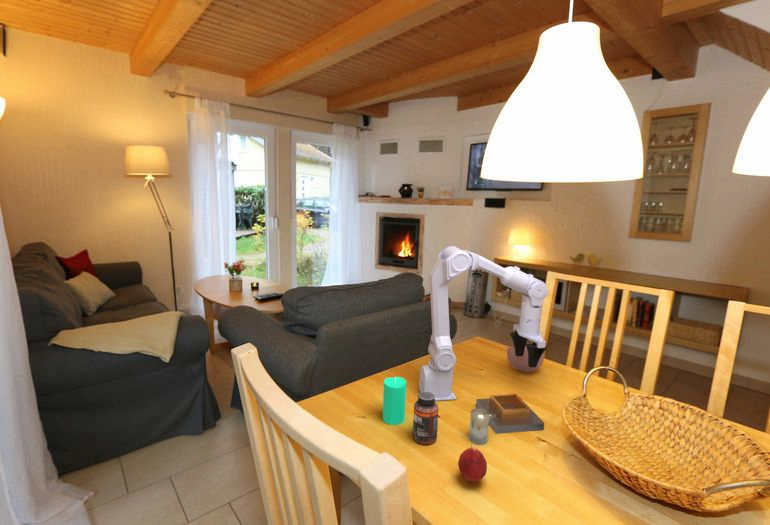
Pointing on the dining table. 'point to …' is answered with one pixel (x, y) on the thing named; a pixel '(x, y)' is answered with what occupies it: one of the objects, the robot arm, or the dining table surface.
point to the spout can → (479, 426)
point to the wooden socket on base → (510, 414)
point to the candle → (394, 400)
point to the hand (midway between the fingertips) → (525, 361)
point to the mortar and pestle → (522, 360)
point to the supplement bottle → (425, 418)
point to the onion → (472, 464)
